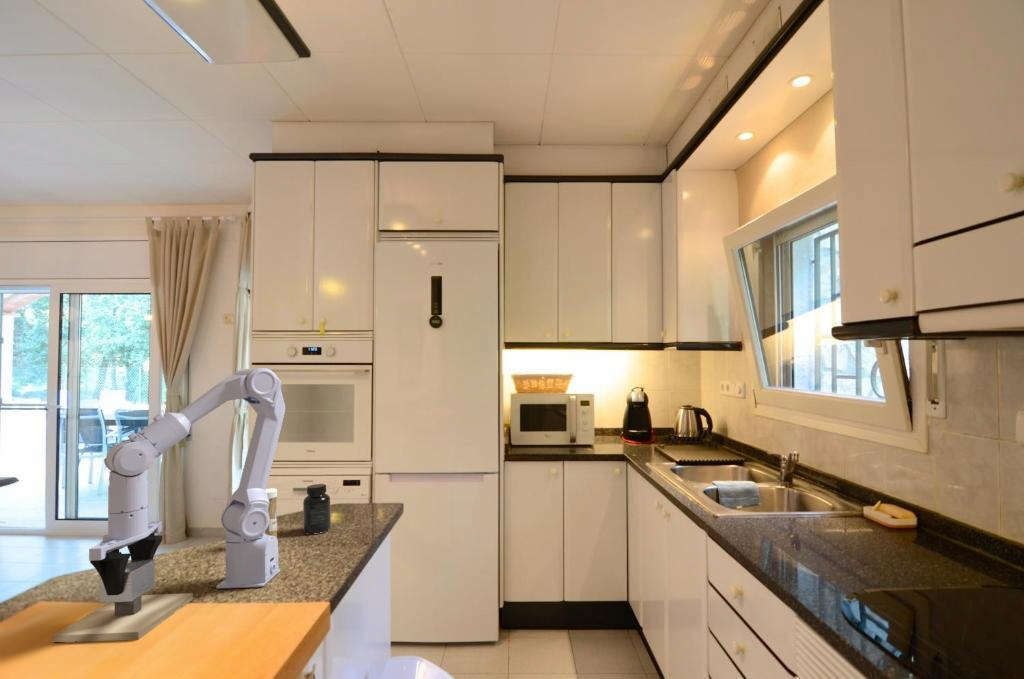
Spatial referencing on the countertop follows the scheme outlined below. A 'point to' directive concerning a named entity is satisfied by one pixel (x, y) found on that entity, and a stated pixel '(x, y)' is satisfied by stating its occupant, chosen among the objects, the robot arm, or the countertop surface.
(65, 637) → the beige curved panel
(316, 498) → the supplement bottle
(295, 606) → the countertop surface
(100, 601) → the hollow square tube
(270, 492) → the sprinkles bottle
